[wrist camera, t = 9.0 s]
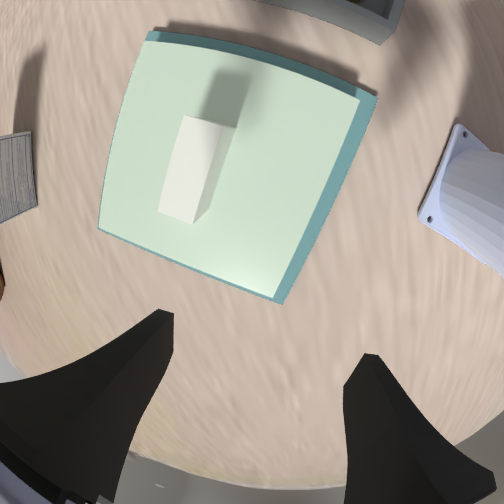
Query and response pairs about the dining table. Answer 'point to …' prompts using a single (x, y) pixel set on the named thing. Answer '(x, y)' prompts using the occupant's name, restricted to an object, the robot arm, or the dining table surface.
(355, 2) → the bowl
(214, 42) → the mat
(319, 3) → the tub
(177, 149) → the lid
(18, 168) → the medicine box
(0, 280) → the wooden toy train
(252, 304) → the dining table surface
